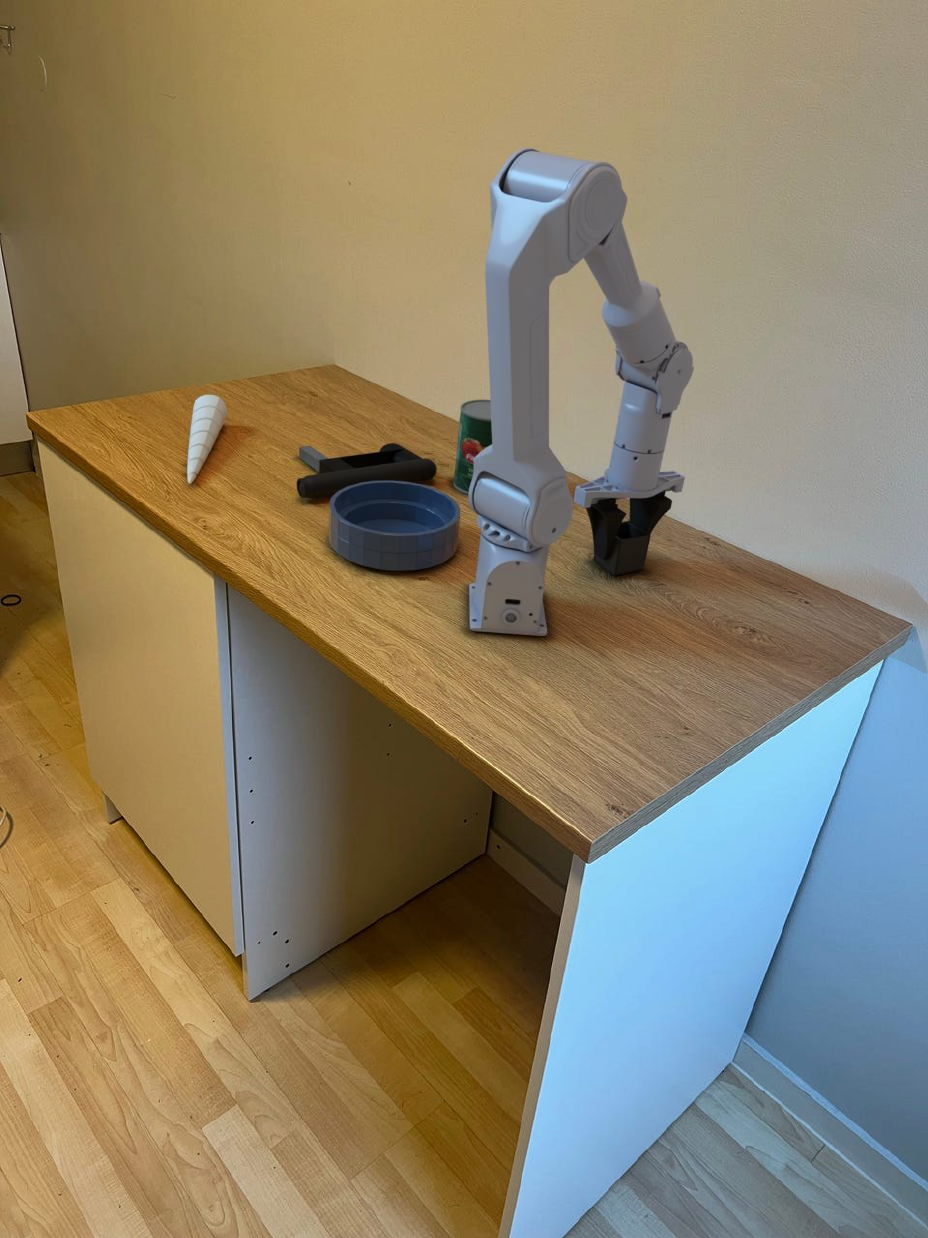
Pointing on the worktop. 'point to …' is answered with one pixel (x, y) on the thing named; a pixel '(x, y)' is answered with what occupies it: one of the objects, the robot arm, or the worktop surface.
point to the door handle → (361, 469)
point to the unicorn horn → (204, 431)
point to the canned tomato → (471, 440)
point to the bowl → (393, 525)
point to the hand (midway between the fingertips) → (617, 552)
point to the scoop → (626, 550)
